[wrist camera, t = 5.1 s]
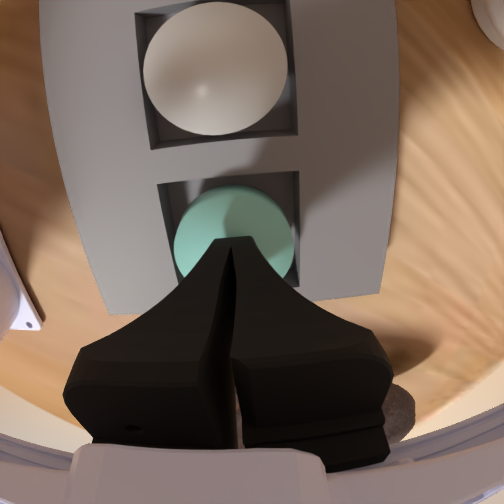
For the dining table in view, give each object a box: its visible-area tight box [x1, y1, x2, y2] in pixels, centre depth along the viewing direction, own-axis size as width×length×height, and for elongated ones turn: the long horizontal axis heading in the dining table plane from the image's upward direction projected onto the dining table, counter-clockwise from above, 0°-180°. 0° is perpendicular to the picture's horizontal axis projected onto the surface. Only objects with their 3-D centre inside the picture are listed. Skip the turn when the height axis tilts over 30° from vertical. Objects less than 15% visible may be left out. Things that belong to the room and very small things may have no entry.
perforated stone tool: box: [235, 383, 415, 449], centre depth 19 cm, size 15×5×7 cm, turn 90°
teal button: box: [174, 185, 294, 278], centre depth 12 cm, size 4×4×1 cm
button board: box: [39, 0, 400, 315], centre depth 10 cm, size 13×20×2 cm, turn 4°
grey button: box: [143, 2, 287, 135], centre depth 9 cm, size 4×4×1 cm
